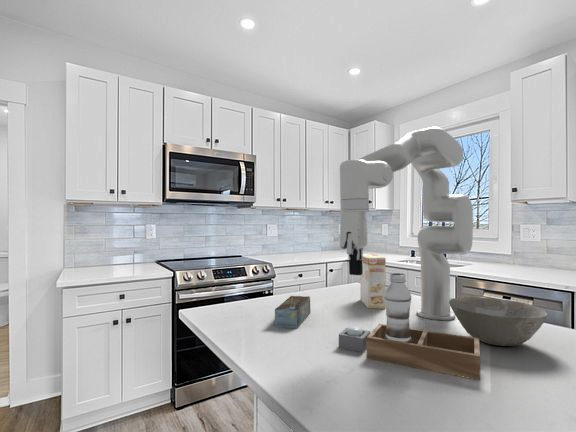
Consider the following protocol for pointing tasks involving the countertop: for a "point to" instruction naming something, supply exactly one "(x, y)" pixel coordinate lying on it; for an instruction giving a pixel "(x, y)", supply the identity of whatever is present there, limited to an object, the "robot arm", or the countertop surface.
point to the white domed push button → (354, 331)
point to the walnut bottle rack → (428, 351)
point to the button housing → (353, 341)
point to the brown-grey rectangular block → (292, 312)
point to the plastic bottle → (398, 309)
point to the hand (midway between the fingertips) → (356, 274)
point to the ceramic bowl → (498, 319)
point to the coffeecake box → (373, 281)
